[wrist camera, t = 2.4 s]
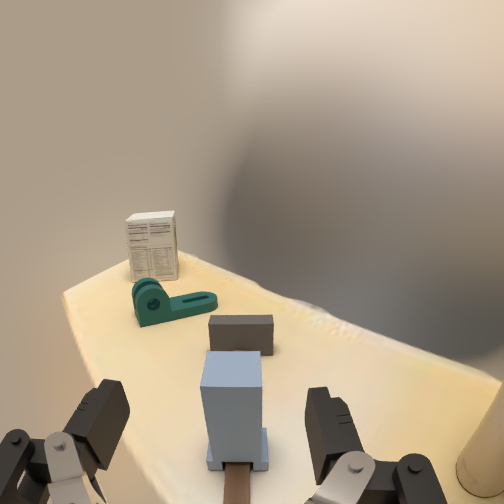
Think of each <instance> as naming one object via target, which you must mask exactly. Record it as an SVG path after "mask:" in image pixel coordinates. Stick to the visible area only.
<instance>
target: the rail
mask: <svg viewBox="0 0 504 504" xmlns="http://www.w3.org/2000/svg"><path fill="white" fill-rule="evenodd" d="M234 351H249V350H234ZM223 504H250V462H226V470H225V486H224V501H223Z"/></svg>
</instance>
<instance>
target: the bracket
mask: <svg viewBox="0 0 504 504" xmlns="http://www.w3.org/2000/svg"><path fill="white" fill-rule="evenodd" d="M132 298H133V304H134V310H135V314H136V317H137V319H138V322H139V324H140V327H145V326H150V325H155V324H159V323H164V322H168V321H173V320H177V319H182V318H186V317H190V316H195V315H199V314H203V313H208V312H211V311H213V310H215V309H216V308H217V306H218V304H217V296H216V295H215V294H214V293H211V292H196V293H191V294H186V295H181V296H176V297H171V298H169V296H168V295H167V293H166V292H165V291H164V289H163V288H162V286H161V285H160V284H159V282H158V281H157V280H155V279H153V278H148V277H147V278H142V279H140V280H138V281H137V282H136V283H135V284H134V286H133V289H132Z"/></svg>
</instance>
